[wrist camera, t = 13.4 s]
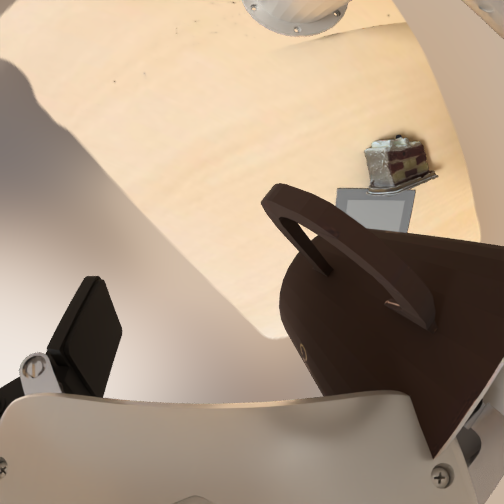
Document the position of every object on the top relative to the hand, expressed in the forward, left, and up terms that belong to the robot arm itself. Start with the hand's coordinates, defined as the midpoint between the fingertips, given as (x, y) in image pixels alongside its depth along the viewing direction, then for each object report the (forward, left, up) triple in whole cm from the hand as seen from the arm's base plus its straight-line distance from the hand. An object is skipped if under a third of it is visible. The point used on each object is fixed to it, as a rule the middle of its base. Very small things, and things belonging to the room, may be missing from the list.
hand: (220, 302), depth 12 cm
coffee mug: (0, +5, -2) cm, 5 cm away
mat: (+13, +21, -30) cm, 39 cm away
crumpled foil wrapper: (+2, +27, -32) cm, 42 cm away
